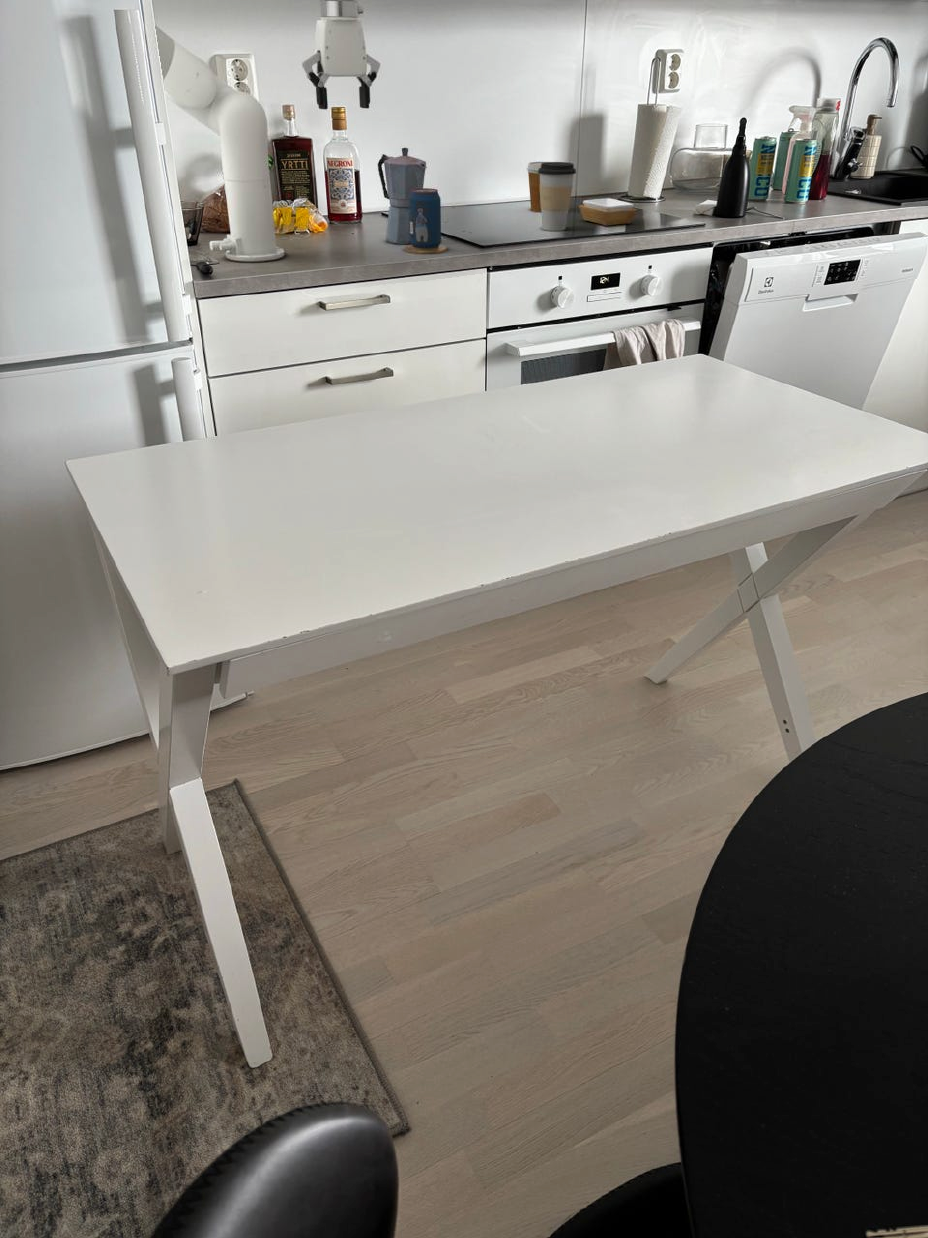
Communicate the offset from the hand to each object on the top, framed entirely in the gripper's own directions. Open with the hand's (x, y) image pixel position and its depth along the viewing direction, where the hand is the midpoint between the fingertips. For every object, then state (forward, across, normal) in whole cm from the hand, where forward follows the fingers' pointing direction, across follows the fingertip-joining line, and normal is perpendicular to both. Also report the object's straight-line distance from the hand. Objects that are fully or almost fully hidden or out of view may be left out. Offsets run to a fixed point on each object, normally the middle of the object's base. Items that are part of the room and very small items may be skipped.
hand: (344, 108), depth 197 cm
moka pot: (+28, -15, -3) cm, 32 cm away
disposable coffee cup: (+28, -72, -25) cm, 81 cm away
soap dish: (+28, -74, +1) cm, 79 cm away
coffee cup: (+28, -56, +2) cm, 63 cm away
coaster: (+28, -14, +9) cm, 33 cm away
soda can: (+28, -14, +9) cm, 33 cm away
